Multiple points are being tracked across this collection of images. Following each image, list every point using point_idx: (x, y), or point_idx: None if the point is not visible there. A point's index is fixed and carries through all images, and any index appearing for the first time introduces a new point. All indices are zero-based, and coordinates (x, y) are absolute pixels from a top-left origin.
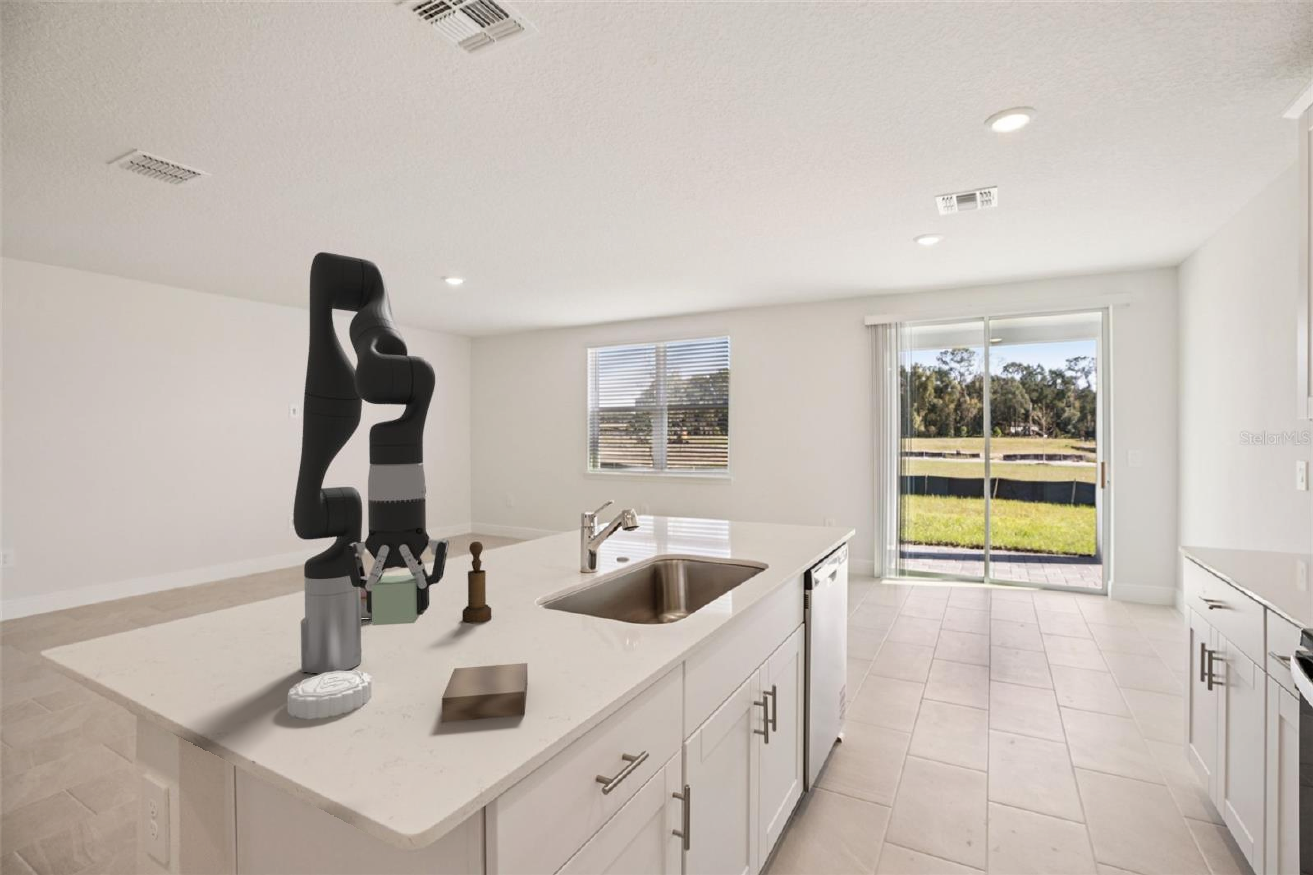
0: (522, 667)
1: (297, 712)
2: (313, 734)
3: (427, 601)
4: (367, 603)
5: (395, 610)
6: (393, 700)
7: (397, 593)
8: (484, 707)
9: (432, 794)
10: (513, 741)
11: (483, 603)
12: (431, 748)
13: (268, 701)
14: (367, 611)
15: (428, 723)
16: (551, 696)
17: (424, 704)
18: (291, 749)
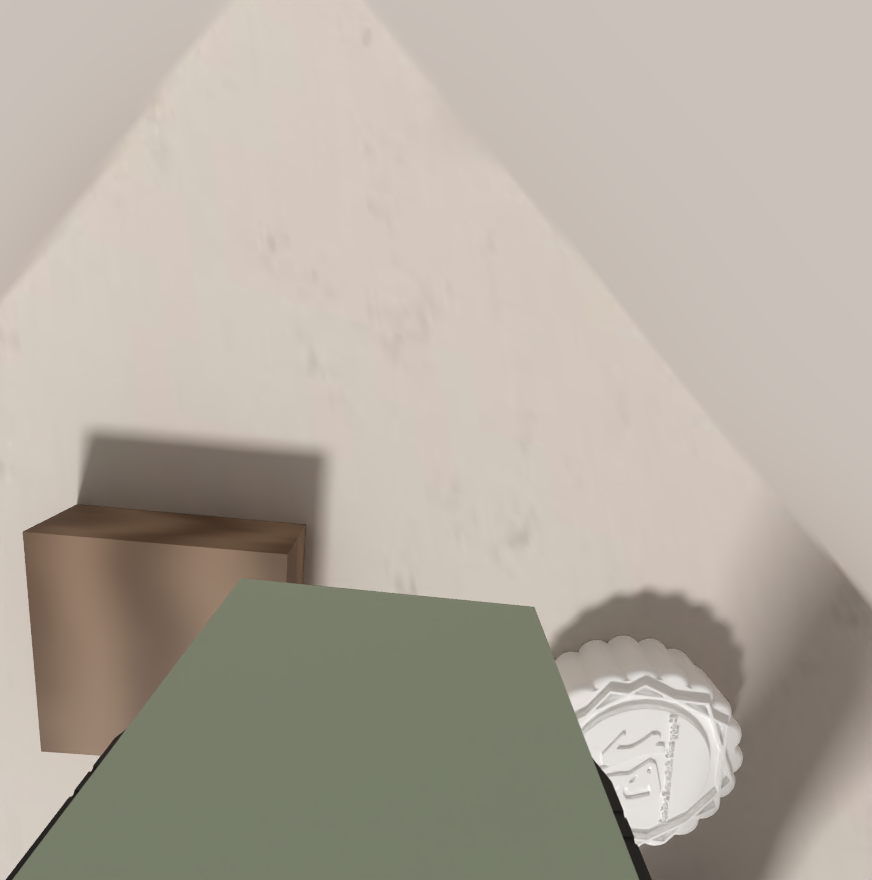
0: (53, 720)
1: (691, 662)
2: (629, 548)
3: (84, 782)
4: (624, 832)
5: (357, 652)
6: None
7: (300, 797)
8: (174, 526)
9: (278, 122)
10: (92, 353)
11: None
12: (315, 379)
13: (771, 768)
14: (599, 768)
15: (342, 528)
16: (7, 601)
17: None
18: (668, 480)
